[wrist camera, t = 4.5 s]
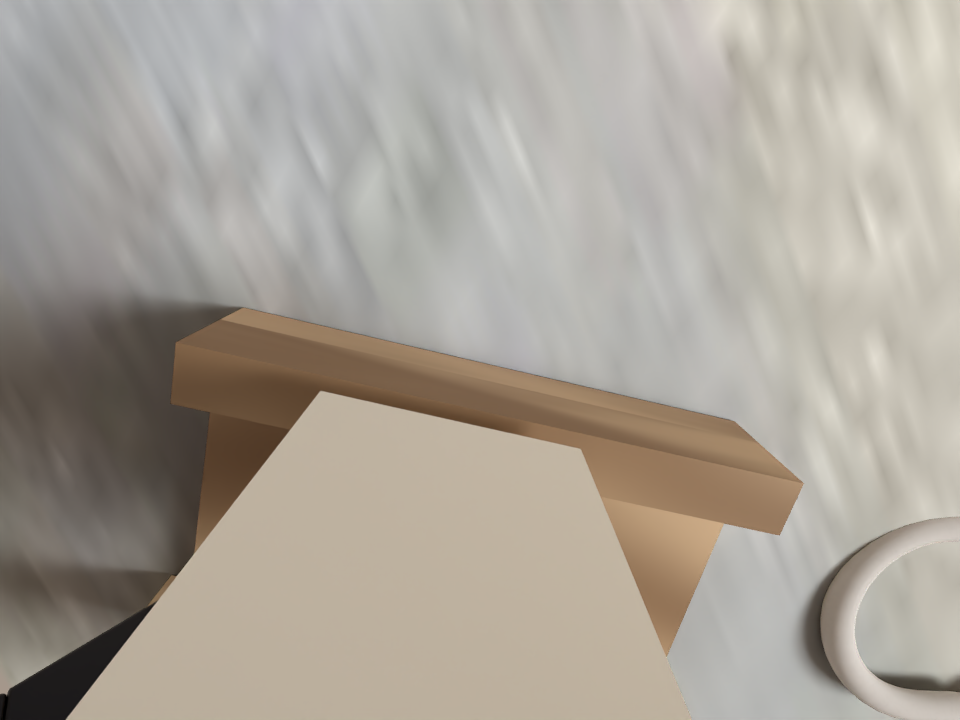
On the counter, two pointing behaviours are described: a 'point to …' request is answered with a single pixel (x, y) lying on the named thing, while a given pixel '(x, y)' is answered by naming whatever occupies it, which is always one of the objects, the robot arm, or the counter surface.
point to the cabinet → (400, 588)
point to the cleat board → (495, 405)
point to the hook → (924, 712)
